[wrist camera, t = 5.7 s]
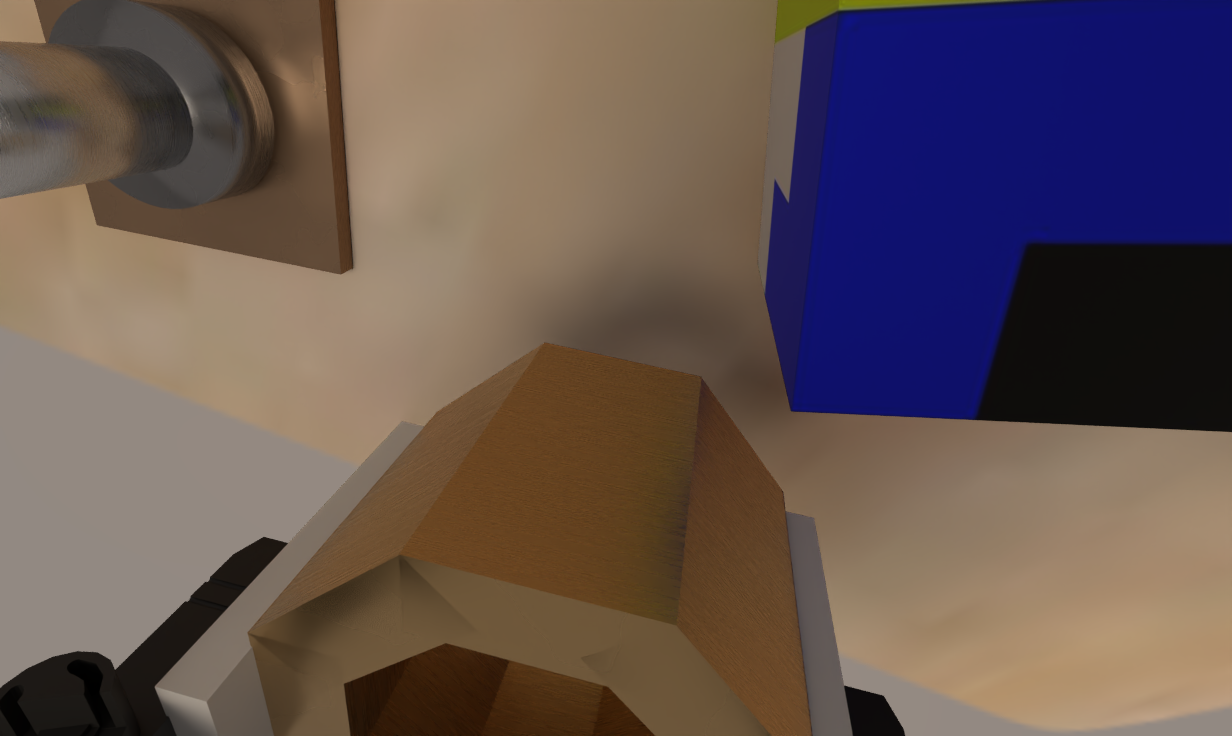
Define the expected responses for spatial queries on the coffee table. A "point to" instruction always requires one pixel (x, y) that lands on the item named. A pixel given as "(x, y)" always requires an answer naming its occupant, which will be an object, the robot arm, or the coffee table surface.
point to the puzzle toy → (1002, 210)
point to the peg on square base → (186, 122)
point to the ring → (551, 573)
